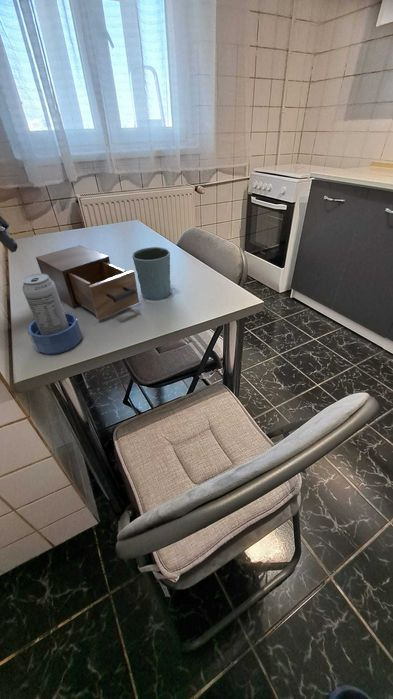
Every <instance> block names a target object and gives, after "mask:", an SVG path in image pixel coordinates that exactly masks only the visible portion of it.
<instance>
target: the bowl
mask: <svg viewBox="0 0 393 699" xmlns="http://www.w3.org/2000/svg"><path fill="white" fill-rule="evenodd" d="M64 313H65V316H66V319H67V322H68V325H69V328H67V329H66V330H64V331H61V332H59V333H56V334H51V335H41V333H40V331H39V328H38V326H37V324H36V321H35V319H34V320H32V321H31V322H30V323H29V325H28V326H27V333H28V337H29V338H30V340H31V342H32V345H33V347H34V349H35V350H36V351H38V352H40V353H43V354H45V355H57V354H58V355H59V354H61V353H65V352H67V351H70V350H71V349H73V348H75V347H77V345H78V344H79V343H80V342H81V340H82V337H83V334H82V331H81V327H80V324H79V321H78V318H77V315H76V314H74V313H72V312H67V311H64Z"/></svg>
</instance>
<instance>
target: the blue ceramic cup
mask: <svg viewBox="0 0 393 699" xmlns="http://www.w3.org/2000/svg"><path fill="white" fill-rule="evenodd" d="M131 257H132V260H133V264H134V268H135V271H136V274H137V279H138V280H137V281H138V283H139V286H140V287H139V288H140V292H141V296H142V297H143V298H145V299H147V300H154V301H156V300H157V301H158V300H163V299H165V298H167V297H169V296H170V295H171V290H172V289H171V252H170V249H167V248H165V247H160V246H153V247H151V246H150V247H145V248H140V249H138V250H136V251H134V252H133V253H132V255H131Z"/></svg>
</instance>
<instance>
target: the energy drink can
mask: <svg viewBox="0 0 393 699" xmlns="http://www.w3.org/2000/svg"><path fill="white" fill-rule="evenodd" d="M22 283H23V285H22V293H23V294H24V297H25V299H26V302H27V304H28V306H29V310H30V312H31V314H32V316H33V318H34V320H35V321H36V324H37V326H38V328H39V331H40V333H41V335H51V334H56V333H59V332H61V331H64V330H66V329H67V328H69V325H68V322H67V319H66V316H65V313H64V312H65V310H64V307H63V304H62V301H61V300H60V298H59V295H58V292H57V289H56V286H55V284H54V282H53V281H52V280H51V279H50V278H49V276H48V275H47V274H42V273H35V274H31V275H27V276H26V277H24V278H23V279H22Z"/></svg>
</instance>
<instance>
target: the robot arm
mask: <svg viewBox="0 0 393 699" xmlns="http://www.w3.org/2000/svg"><path fill="white" fill-rule="evenodd" d="M9 227H10V222H8V221H7V220H6V219H5V218H3V217H2V216H1V215H0V243H1V244H2V245H3V246H4V247H5V248H6V249H7V250H8V251H9V252H10V253H16V251H17V250H18V243H17V241H16V240H15V239H14V238H12V237H11V235H10V234H9V233H8V230H9Z"/></svg>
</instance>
